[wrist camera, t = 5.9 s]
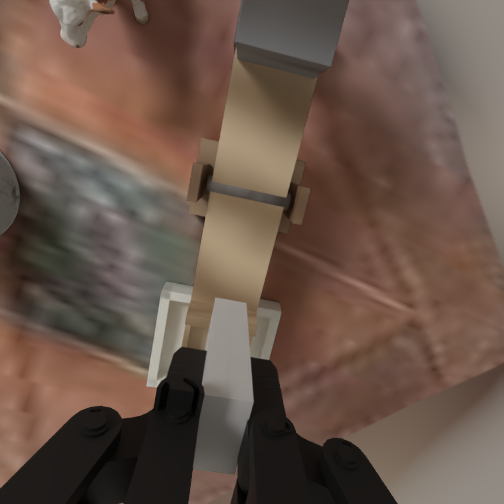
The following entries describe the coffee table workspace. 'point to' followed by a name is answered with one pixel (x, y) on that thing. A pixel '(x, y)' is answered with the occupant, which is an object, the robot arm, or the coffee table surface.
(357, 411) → the coffee table surface
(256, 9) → the lever
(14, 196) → the grey metal can
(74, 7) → the bull figurine
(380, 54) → the coffee table surface
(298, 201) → the fulcrum
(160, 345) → the dish
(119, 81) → the coffee table surface
